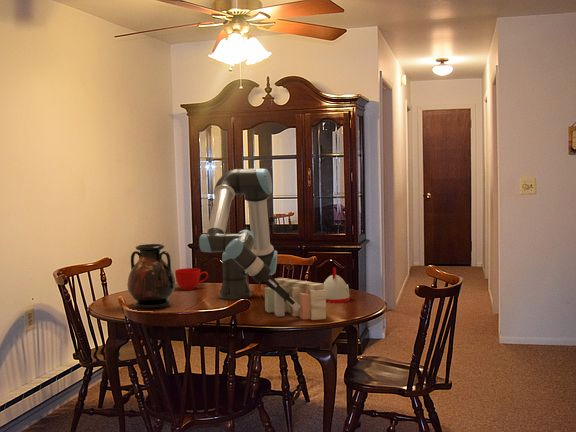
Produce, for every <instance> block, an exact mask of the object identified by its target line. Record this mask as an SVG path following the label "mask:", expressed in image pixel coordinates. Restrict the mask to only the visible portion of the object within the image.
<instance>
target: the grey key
mask: <svg viewBox="0 0 576 432" xmlns="http://www.w3.org/2000/svg"><path fill="white" fill-rule="evenodd" d="M274 308H275V312H274V315H275V316H276V317H285V313H286V312H284V299H283V298H282V297H281V296H280V295H279V294H278V293H277V292H275V291H274Z"/></svg>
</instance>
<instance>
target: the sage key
mask: <svg viewBox="0 0 576 432" xmlns="http://www.w3.org/2000/svg"><path fill="white" fill-rule="evenodd" d="M264 310H265V312H266V313H268V314H269V313H275V308H274V290H272V289H271V288H270V287H269V286H267V287H266V286H265V287H264Z"/></svg>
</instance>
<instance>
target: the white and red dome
mask: <svg viewBox="0 0 576 432" xmlns="http://www.w3.org/2000/svg"><path fill="white" fill-rule="evenodd" d="M323 284H324V290H326V302H327V303H326V304H328V303H329V304H341V303H346V302H347V303H348V302H349V301H350V300H351V296H350V289H349V283H348V284H347V283H346V281H345V280H344V279H343V278H342V277H341V276H340V275H338V274H337V268H336V267H333V268H332V274H331V275H329V276H328V277H327V278H326V279H325V280H324V282H323Z"/></svg>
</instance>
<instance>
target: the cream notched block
mask: <svg viewBox="0 0 576 432" xmlns="http://www.w3.org/2000/svg"><path fill="white" fill-rule="evenodd" d="M274 279H275V281H277V282H278V283H279V285H280V286H281V287H282V288H283V289H284V290H285V291H286V292H287V293H289V295H290V296H291V297H292V298H293V299H294V300H295V301H296V302H297V303H298V304H299V293H305V292H306V293H308V294H309V295H310V319H309V320H312V321H315V320H316V321H317V320H326V319H327V303H326V290H324V283H321V282H314V281H313V282H312V281H306V280H301V279H293V278H286V277H285V278H284V277H277V278H276V277H275V278H274ZM284 312H285V313H289V314H290V315H292V316H293V317H300V312H299V309H298V310H297V311H296V310H295V309H294V308H292V307H291V306H290V305H289V304H288V303H287V302H286V301H285V302H284Z"/></svg>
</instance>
